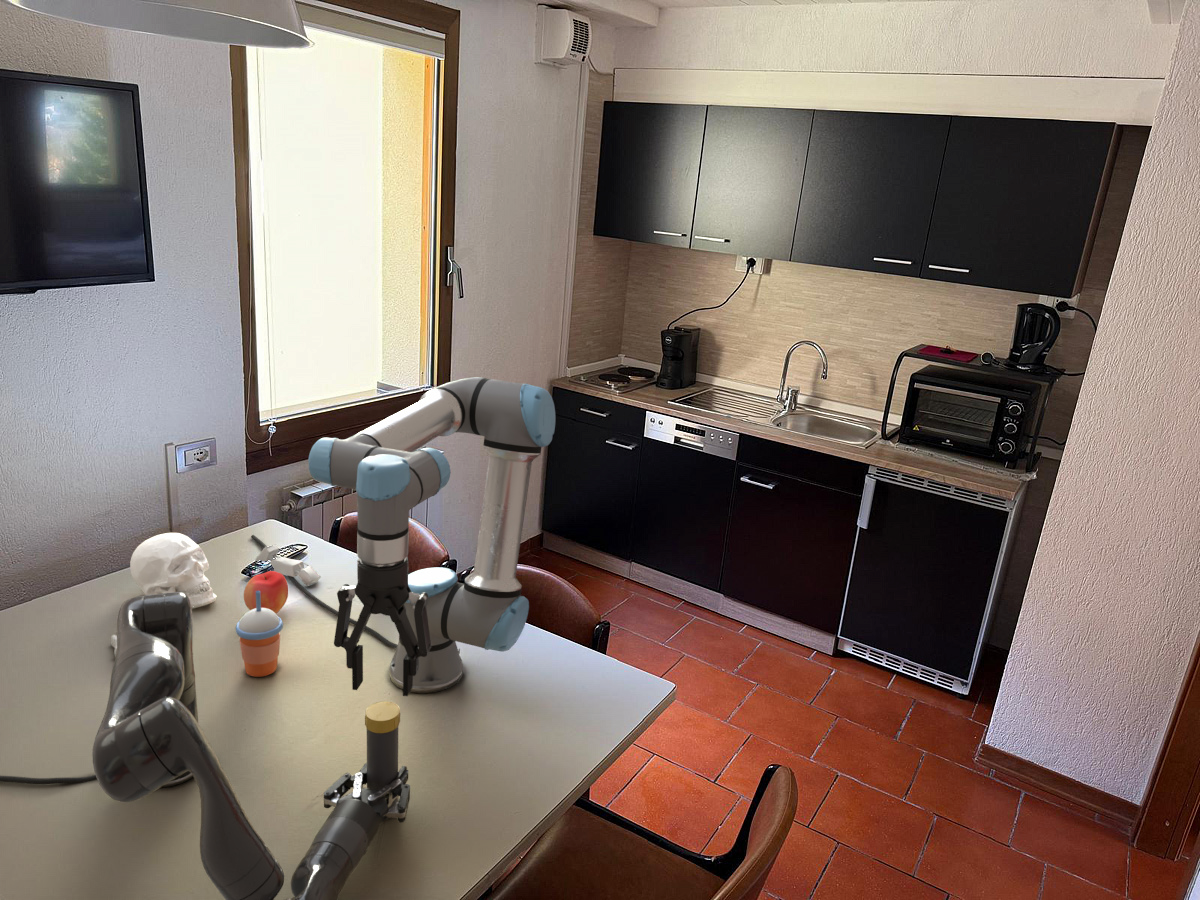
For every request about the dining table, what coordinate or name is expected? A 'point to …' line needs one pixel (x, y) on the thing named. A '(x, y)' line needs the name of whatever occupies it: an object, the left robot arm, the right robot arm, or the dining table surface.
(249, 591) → the apple
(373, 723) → the lid
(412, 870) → the dining table surface
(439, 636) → the right robot arm
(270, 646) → the cup with straw
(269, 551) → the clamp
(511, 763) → the dining table surface
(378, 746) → the jar
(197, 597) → the skull
